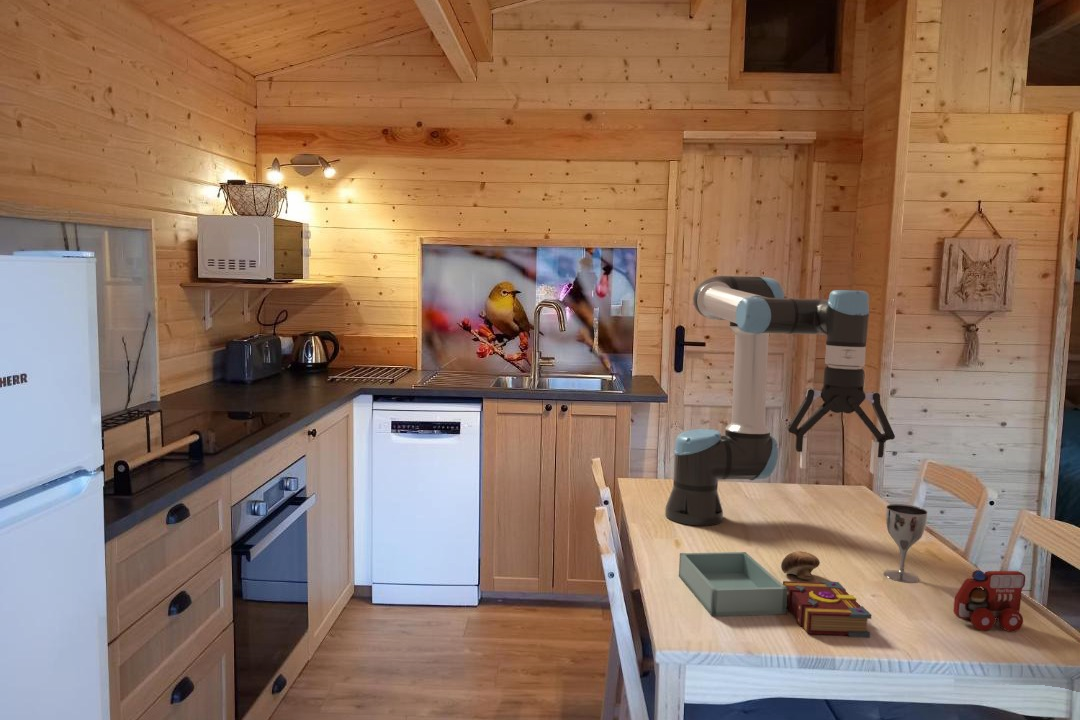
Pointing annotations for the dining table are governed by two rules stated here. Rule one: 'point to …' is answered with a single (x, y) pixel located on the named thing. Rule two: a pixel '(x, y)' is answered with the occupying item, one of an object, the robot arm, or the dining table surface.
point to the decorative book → (826, 609)
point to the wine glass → (904, 535)
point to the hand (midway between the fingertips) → (837, 470)
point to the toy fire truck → (991, 599)
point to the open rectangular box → (732, 584)
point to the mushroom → (800, 564)
